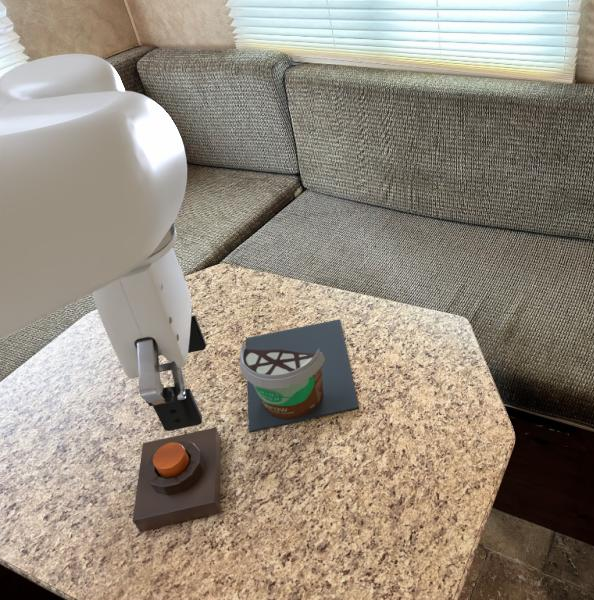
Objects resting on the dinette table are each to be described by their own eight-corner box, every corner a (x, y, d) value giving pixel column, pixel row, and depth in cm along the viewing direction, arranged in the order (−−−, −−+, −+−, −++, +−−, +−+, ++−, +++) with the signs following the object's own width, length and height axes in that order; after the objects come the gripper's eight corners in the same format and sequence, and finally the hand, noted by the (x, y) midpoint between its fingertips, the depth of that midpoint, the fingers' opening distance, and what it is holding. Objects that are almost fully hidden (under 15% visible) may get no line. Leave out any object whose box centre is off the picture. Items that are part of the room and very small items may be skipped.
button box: (220, 513, 77) (210, 493, 74) (140, 532, 76) (127, 513, 73) (221, 438, 86) (212, 418, 83) (149, 454, 85) (138, 434, 82)
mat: (359, 408, 89) (358, 406, 88) (249, 432, 87) (248, 431, 86) (340, 320, 104) (339, 319, 103) (246, 339, 102) (245, 337, 102)
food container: (240, 422, 88) (222, 374, 81) (255, 390, 92) (239, 342, 86) (322, 430, 86) (310, 382, 79) (333, 396, 90) (322, 348, 84)
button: (188, 474, 77) (183, 464, 76) (156, 481, 77) (151, 472, 75) (190, 449, 80) (185, 439, 79) (159, 455, 80) (154, 446, 78)
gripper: (90, 186, 52) (155, 333, 63) (41, 311, 39) (135, 470, 50) (179, 171, 53) (228, 319, 64) (161, 288, 40) (227, 450, 50)
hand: (187, 385), depth 57 cm, fingers open, 9 cm apart
